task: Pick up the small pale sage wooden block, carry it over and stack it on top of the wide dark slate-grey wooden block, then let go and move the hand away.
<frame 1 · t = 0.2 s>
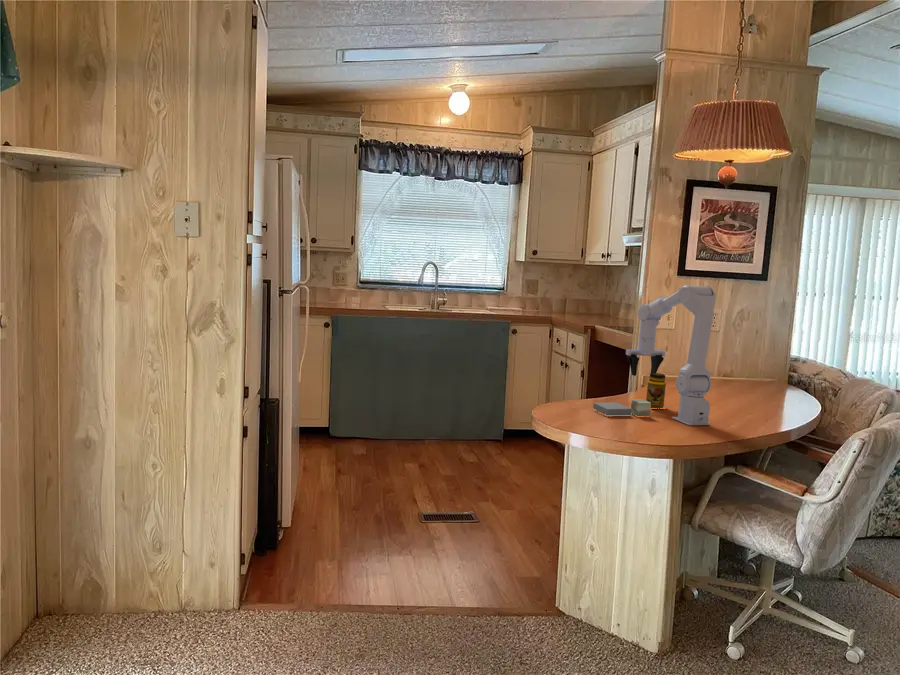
hand: (643, 375, 244), 10 cm above the table, tool pointing down, fingers open, 7 cm apart
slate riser: (611, 414, 225), on the table
sage block: (639, 415, 224), on the table
condiment: (653, 407, 239), on the table
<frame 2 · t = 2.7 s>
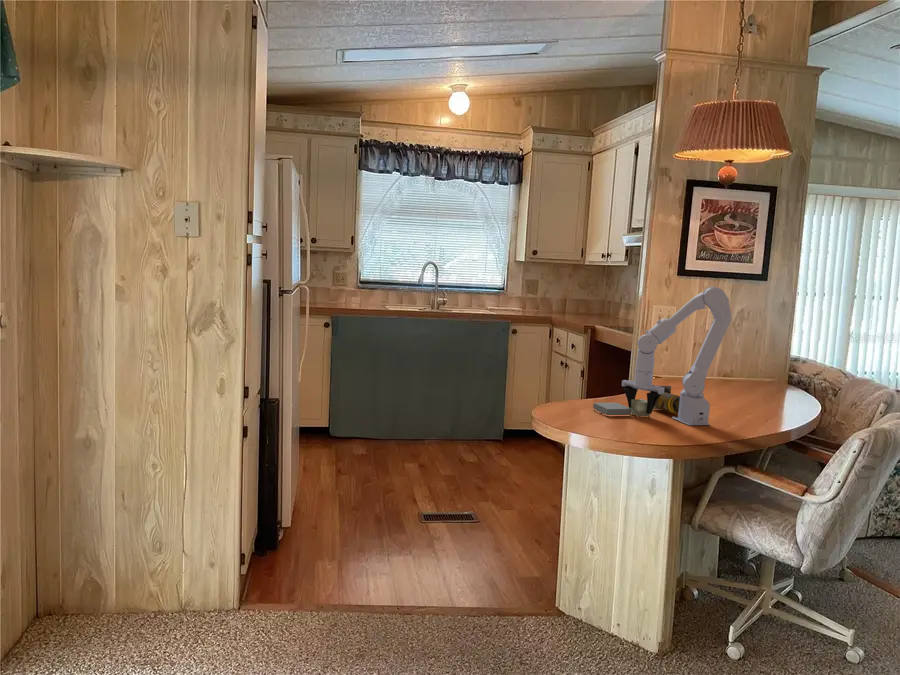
hand: (640, 411, 224), 1 cm above the table, tool pointing down, fingers closed on sage block, 6 cm apart
sage block: (639, 415, 224), on the table, touching gripper
condiment: (660, 397, 235), point 4 cm above the table, touching arm
everything else where it was.
when the fingers open (6 cm above the table, at t = 6.3 s): sage block drops 2 cm, resting on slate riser.
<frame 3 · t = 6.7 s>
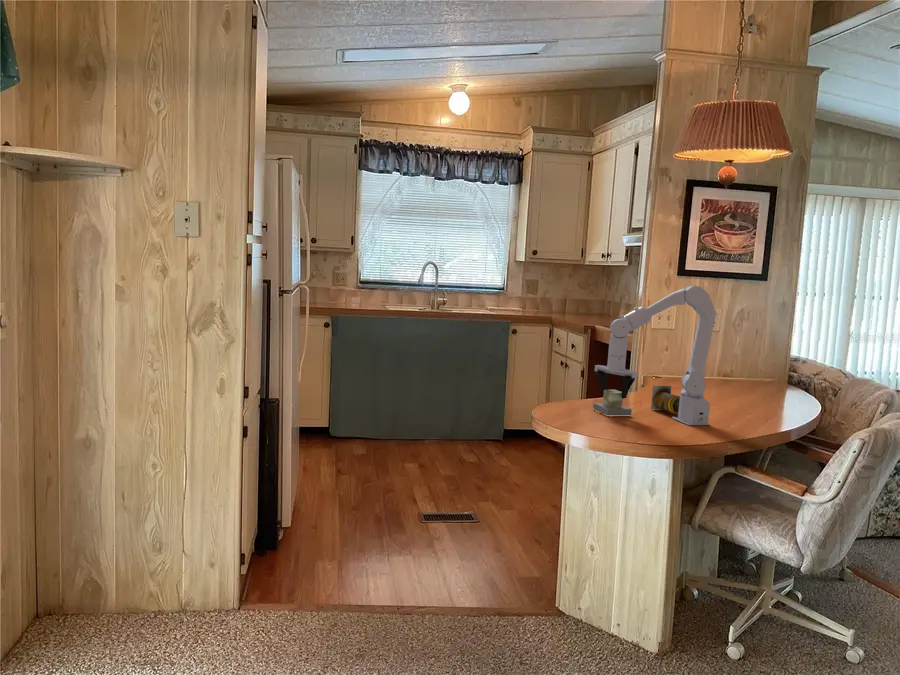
hand: (613, 395, 224), 6 cm above the table, tool pointing down, fingers open, 7 cm apart
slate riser: (611, 414, 225), on the table, touching sage block
sage block: (612, 405, 225), point 2 cm above the table, touching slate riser
everything else where it was.
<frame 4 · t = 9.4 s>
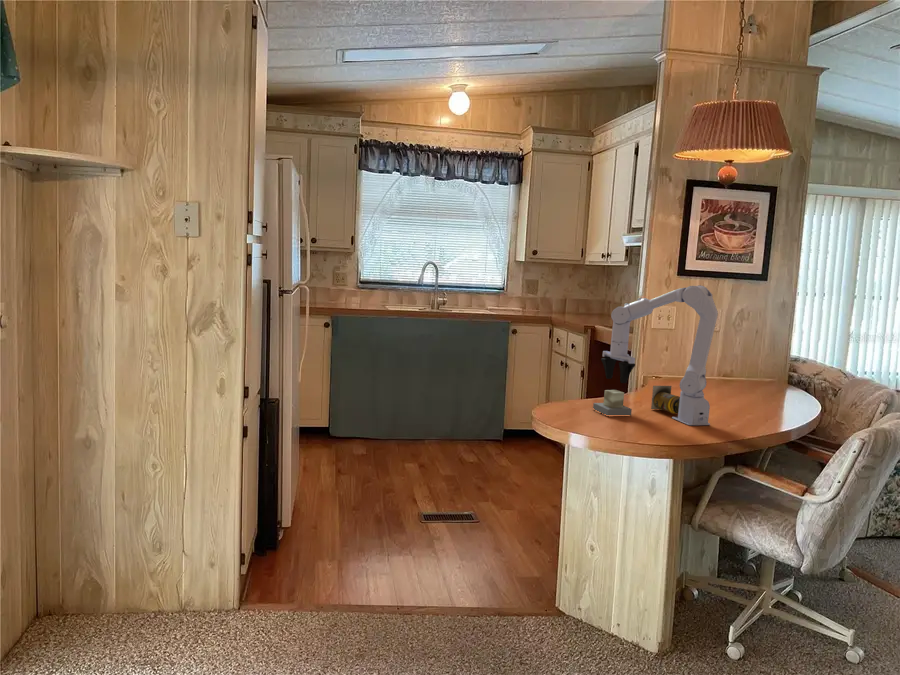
hand: (616, 380, 233), 9 cm above the table, tool pointing down, fingers open, 7 cm apart
nothing on the table moved.
at the end: sage block 0.4 cm off-centre on the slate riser, point 3.0 cm above the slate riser's base; sage block tilted 0°; the gripper is holding nothing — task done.
